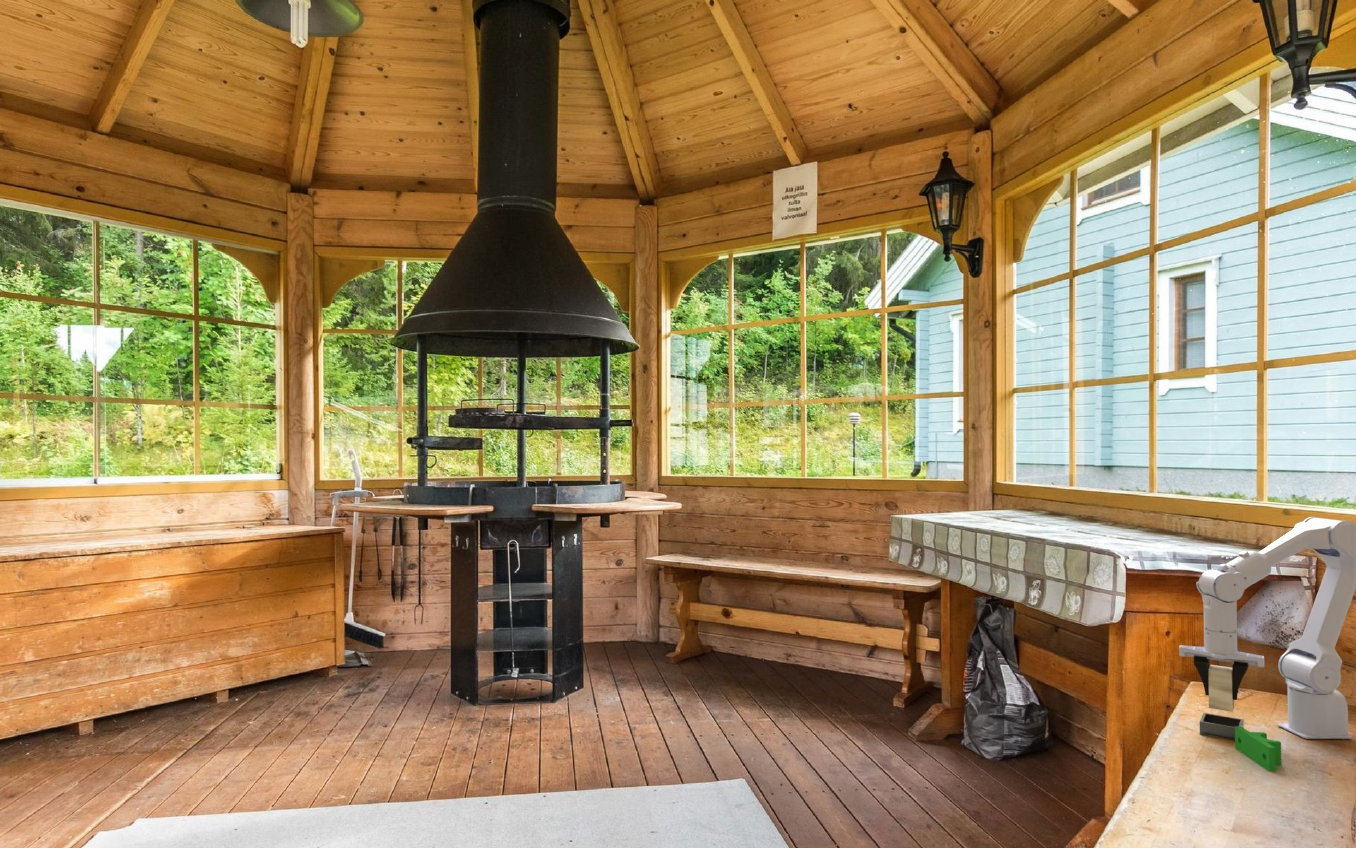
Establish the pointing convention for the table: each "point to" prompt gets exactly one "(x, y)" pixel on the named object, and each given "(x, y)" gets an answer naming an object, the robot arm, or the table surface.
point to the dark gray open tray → (1219, 726)
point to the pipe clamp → (1258, 748)
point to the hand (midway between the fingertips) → (1221, 696)
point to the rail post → (1221, 688)
